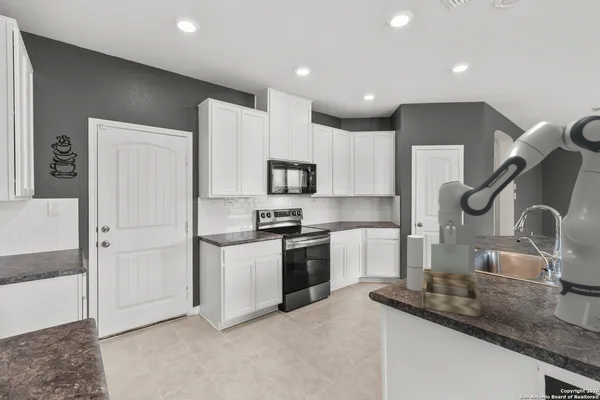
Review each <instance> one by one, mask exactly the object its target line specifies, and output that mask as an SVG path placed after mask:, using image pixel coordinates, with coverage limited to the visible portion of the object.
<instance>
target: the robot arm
mask: <svg viewBox="0 0 600 400" xmlns="http://www.w3.org/2000/svg"><path fill="white" fill-rule="evenodd" d="M557 149H558V150H561V151H564V152H568V153H569V152H570V153H572V152H574V153H575V152H580V154H581V156H582V163H581V166H580V170H579V171H578V175H577V178H576V182H575V184H574V187H573V189H572V190H573V191H572V194H571V198H570V199H571V200H570V203H569V206H568V211H567V214H566V215H565V216H564V217H563V218H562V220H561V223H560V252H561V254H560V255H561V257H560V258H561V260H560V277H559V278H558V287H557V289H558V293H559V295H558V301H557V304H556V307H555V309H554V312H553V315H554V316H555V317H556V318H557V319H559V320H561V321H564V322H565V323H568V324H570V325H574V326H578V327H581V328H583V329H585V330H587V331H590V332H594V333H600V115H587V116H584V117H581V118H578V119H575V120H573V121H570V122H569V123H568V122H567V123H565V124H563V125H560V124H558V123H556V122H554V121H549V120H544V121H539V122H537V123H536V124H535V125H533V126H532V127H530V128H528V130H526V131H525V132H524V133H523V134H521V136H519V137H518V138H517V139H516V140H515V141H514V142H513V143H512V144H510V146H509V147H508V149H507V150H506V151H505V153H504V154H503V156H502V159H501V161H500V164H499V166H498V168H496V170H495V171H493V173H492V174H491V175H490V176H489V177H488V178H486V179H485V181H483V183H481V184H480V185H478V186H477V187H471V186H469V185H466V184H464V183H463V182H461V181H459V180H455V181H448V182H445V183H442V184H441V185H440V186H439V189H438V190H439V191H438V206H439V209H438V214H437V215H438V216H437V218H438V221H437V223H438V224H441V227H442V228H443V232H444V238H445V243H446V245H447V253H448V254H452V248H453V246H455V245H456V229H458V225H463V212H464V213H466V214H467V215H469V216H473V217H480V216H484V215H485V214H487V213H488V212H489V211H490V209H491V208H492V207H493V204H494V202H495V199H496V197H497V196H498V195H499V194H500V193H501V192H502V191H503V190H504V189H505V188H506V187H508V186H509V184H510V183H512V182H513V181H514V180H515V179H516V178H518V177H519V176H521V175H523V174H524V173H526V172H527V171H529V170H531V169H532V168H534V167H535V166H537V165H538V164H540V162H542V161H543V160H544V159H545V158H546V157H547V156H548V155H549V154H550V153H551V152H553V151H554V150H557Z"/></svg>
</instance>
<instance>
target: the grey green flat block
mask: <svg viewBox="0 0 600 400" xmlns="http://www.w3.org/2000/svg"><path fill="white" fill-rule="evenodd" d="M430 269H431V272H433V271H436V272H445V273H454V274H463V275H467V276H469V246H467V245H455V246H453V248H452V254H448V253H447V245H446V244H439V243H436V242H431V243H430Z"/></svg>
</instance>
